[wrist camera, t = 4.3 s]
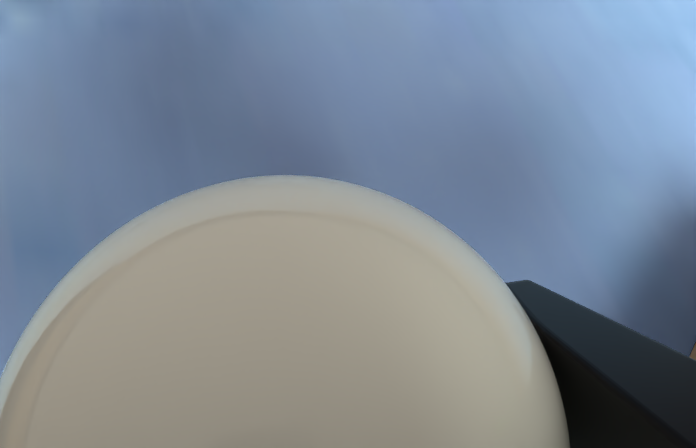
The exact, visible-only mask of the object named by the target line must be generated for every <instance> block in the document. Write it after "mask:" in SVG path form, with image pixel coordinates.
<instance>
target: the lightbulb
mask: <svg viewBox="0 0 696 448" xmlns="http://www.w3.org/2000/svg"><path fill="white" fill-rule="evenodd" d="M0 448H571V446H570V436H569V430H568V423H567V418H566V413H565V408H564V404H563V400H562V396H561V392H560V389H559V385H558V382H557V379H556V376H555V373H554V370H553V368H552V365H551V362H550V360H549V357H548V355H547V352H546V350H545V348H544V346H543V343H542V341H541V339H540V337H539V335H538V333H537V331H536V329H535V327H534V325H533V324H532V322H531V320H530V318H529V317H528V315H527V313H526V312H525V310H524V309H523V307H522V305H521V304H520V302H519V301H518V299H517V298H516V297H515V295H514V294H513V292H512V291H511V290H510V288H509V287H508V286H507V285H506V283H505V282H504V281H503V279H502V278H501V277H500V276H499V275H498V274H497V272H496V271H495V270H494V269H493V268H492V267H491V266H490V265H489V264H488V263H487V262H486V260H485V259H484V258H483V257H482V256H480V255H479V254H478V253H477V252H476V251H475V250H474V249H473V248H472V247H471V246H470V245H469V244H467V243H466V242H465V241H464V240H463V239H462V238H460V237H459V236H458V235H457V234H455V233H454V232H453V231H451V230H450V229H449V228H447V227H446V226H445V225H443V224H442V223H440V222H439V221H437V220H436V219H434V218H433V217H431V216H429V215H428V214H426V213H424V212H423V211H421V210H419V209H417V208H415V207H414V206H412V205H410V204H408V203H406V202H403V201H401V200H399V199H397V198H394V197H392V196H390V195H387V194H385V193H382V192H379V191H377V190H374V189H371V188H367V187H364V186H361V185H357V184H353V183H350V182H345V181H340V180H335V179H329V178H323V177H315V176H304V175H266V176H255V177H247V178H241V179H235V180H230V181H225V182H221V183H217V184H213V185H209V186H206V187H202V188H199V189H196V190H193V191H190V192H187V193H185V194H182V195H179V196H177V197H175V198H172V199H170V200H167V201H165V202H163V203H161V204H159V205H157V206H155V207H153V208H151V209H149V210H147V211H145V212H144V213H142V214H140V215H139V216H137V217H135V218H133V219H132V220H130V221H129V222H127V223H126V224H124V225H123V226H121V227H120V228H118V229H117V230H115V231H114V232H113V233H111V234H110V235H109V236H107V237H106V238H105V239H103V240H102V241H101V242H100V243H98V244H97V245H96V246H95V247H94V248H92V249H91V250H90V251H89V252H88V253H87V254H86V255H85V256H84V257H82V258H81V259H80V260H79V261H78V262H77V263H76V264H75V265H74V266H73V267H72V268H71V269H70V270H69V271H68V272H67V273H66V275H65V276H64V277H63V278H62V279H61V280H60V281H59V282H58V283H57V285H56V286H55V287H54V288H53V289H52V291H51V292H50V293H49V294H48V296H47V297H46V298H45V300H44V301H43V302H42V303H41V305H40V306H39V308H38V309H37V311H36V312H35V313H34V315H33V316H32V318H31V319H30V321H29V323H28V324H27V326H26V327H25V329H24V331H23V332H22V334H21V336H20V338H19V339H18V341H17V343H16V345H15V347H14V349H13V351H12V353H11V354H10V357H9V359H8V361H7V363H6V365H5V367H4V369H3V372H2V374H1V377H0Z"/></svg>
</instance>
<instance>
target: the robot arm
mask: <svg viewBox="0 0 696 448" xmlns="http://www.w3.org/2000/svg"><path fill="white" fill-rule="evenodd" d="M506 285H507V286H508V287H509V288H510V290H511V291H512V292H513V294H514V295H515V297H516V298H517V299H518V301H519V302H520V304H521V305H522V307H523V309H524V310H525V312H526V313H527V315H528V317H529V318H530V320H531V322H532V324H533V325H534V327H535V329H536V331H537V333H538V335H539V337H540V339H541V341H542V343H543V346H544V348H545V350H546V352H547V355H548V357H549V360H550V362H551V365H552V368H553V370H554V373H555V376H556V379H557V382H558V385H559V389H560V392H561V396H562V400H563V404H564V408H565V413H566V418H567V423H568V430H569V436H570V446H571V448H696V360H694V359H692V358H690V357H688V356H686V355H684V354H682V353H680V352H678V351H676V350H674V349H672V348H669V347H667V346H665V345H663V344H661V343H659V342H657V341H655V340H653V339H651V338H649V337H647V336H644V335H642V334H640V333H638V332H636V331H634V330H632V329H630V328H628V327H626V326H624V325H622V324H619V323H617V322H615V321H613V320H611V319H609V318H607V317H605V316H603V315H601V314H599V313H597V312H594V311H592V310H590V309H588V308H586V307H584V306H582V305H580V304H578V303H576V302H574V301H572V300H569V299H567V298H565V297H563V296H561V295H559V294H557V293H555V292H553V291H551V290H549V289H547V288H545V287H542V286H540V285H538V284H536V283H534V282H532V281H529V280H522V281H515V282H509V283H506Z"/></svg>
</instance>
